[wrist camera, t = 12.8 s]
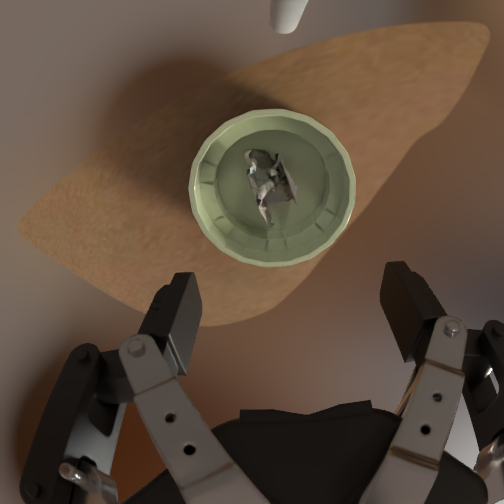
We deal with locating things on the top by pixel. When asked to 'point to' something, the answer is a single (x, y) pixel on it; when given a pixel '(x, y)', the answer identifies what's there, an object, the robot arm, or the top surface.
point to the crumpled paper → (269, 182)
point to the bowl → (284, 214)
